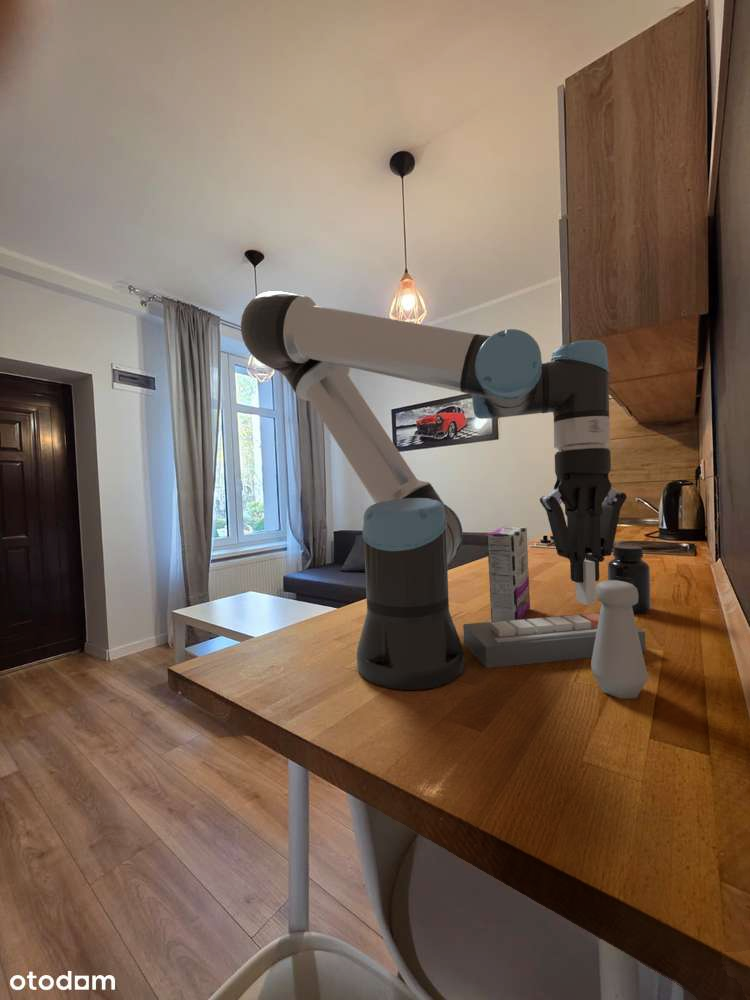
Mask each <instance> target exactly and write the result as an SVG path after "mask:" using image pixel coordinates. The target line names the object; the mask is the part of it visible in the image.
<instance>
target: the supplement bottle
mask: <svg viewBox="0 0 750 1000" xmlns="http://www.w3.org/2000/svg"><path fill="white" fill-rule="evenodd" d="M643 550H644V549H643V547H641V546H638V545H626V544H625V545H624V544H623V545H615V546H614V545H613V550H612V556H613V557H614V558H613V559H611V560H610V561H609V562H608V563H607V581H608V580H616V581H623V582H627V583H630V584H633V585H634V586H635V587H636V588H637V591H638V602H637V604H635V605H633V606H632V609H633V613H634V615H635V614H638V615H639V614H647V613H649V612H650V611H651V604H652V603H651V602H652V601H651V571H650V570H651V569H650V568H651V567H650V566H649V564H648V563H647V562H646V561H644V560H642V559H643V558H644V552H643Z"/></svg>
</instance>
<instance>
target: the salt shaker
mask: <svg viewBox="0 0 750 1000" xmlns="http://www.w3.org/2000/svg"><path fill="white" fill-rule="evenodd" d="M596 600H597V601H598V602H600V603H601V606H600V609H599V610H600V611H599V612H600V615H599V621H598V626H597V632H596V638H595V644H594V649H593V655H592V658H591V662H590V665H591V667H590V668H591V672H592V675H593V676H594V678H595V679H596V681H597V683H598V685H599V687H600V689H601V690H602V692H603V693H604V694H607V695H610V696H612V697H615V698H618V699H621V700H624V699H637V698H638V697H639V695H640V693H641V691H642V690H643V688H644V687H645V685H646V683H647V682H648V678H649V675H648V671H647V667H646V663H645V662H646V661H645V659H644V654H643V653H644V652H642V649H641V645H640V640H639V636H638V631H637V628H638V626H637V622H636V617H635V614H634V613H633V609H632V606H633V605H635V604H637V602H638V591H637V588H636V587H635V586H634V585H633V584H630V583H627V582H623V581H616V580H608V579H607V580H602V581H600V582H598V583H597V584H596Z"/></svg>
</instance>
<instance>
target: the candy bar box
mask: <svg viewBox="0 0 750 1000" xmlns="http://www.w3.org/2000/svg"><path fill="white" fill-rule="evenodd" d="M527 529H528V528H527V527H525V526H503V527H500V528H499V529H498V528H497V529H496V530H494V531H491V532H490V533H488V534H486V536H487V537H486V538H487V539H486V541H487V557H488V558H487V559H488V573H489V575H488V577H489V579H488V580H489V594H490V597H489V598H490V599H489V600H490V617H491V618H490V620H491V621H490V622H495V621H506V620H518V619H524V617H525V615H526V614H527V613H528V611H529V610H530V609H531V601H530V600H531V599H530V579H529V555H528V535H527Z"/></svg>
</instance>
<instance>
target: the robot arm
mask: <svg viewBox="0 0 750 1000" xmlns="http://www.w3.org/2000/svg"><path fill="white" fill-rule="evenodd" d="M240 333H241V338H242V340H243V343H244V345H245V347H246V348H247V351H248V352H249V353H250V354H251V355H252V357H254V359H256V361H258V362H260V363H261V364H263V365H264V366H267V367H268V368H271V369H273V370H275V371H277V372H279V373H281V374H282V375H283V376H284V377H285V378H286V380H287V382H288V384H289V385H290V387H291V388H292V390H293V392H295V394H296V396H297V397H298V399H300V400H302V401H307V402H310V403H311V405H312V406H313V408H314V409H315V411H316V412H317V414H318V415H319V417H320V418H321V420H322V422H323V424H325V426H326V428H327V429H328V431H329V433H330V435H331V436H332V438H333V440H335V442H336V444H337V446H338V447H339V448H340V450H341V451H342V453H343V455H344V457H345V458H346V459H347V461H348V462H349V464H350V466H351V468H353V471H354V473H356V475H357V477H358V478H359V480H360V482H361V483H362V485H364V488H365V489H366V490H367V492H368V494H369V495H370V498H371V499H372V500H373V502H374V504H372V505H370V506H368V507H367V509H365V511H364V513H363V526H362V531H361V532H362V533H361V534H362V538H363V539H362V540H363V554H364V557H363V558H364V574H365V594H366V615H365V620H364V623H363V626H362V629H361V635H360V637H359V641H358V645H357V650H356V664H357V665H356V667H357V668H356V669H357V671H358V673H359V674H360V676H362V677H363V678H364V679H365V680H367V681H368V682H369V683H370V682H371V683H372V684H375V685H377V686H380V687H383V688H388V689H392V690H402V691H415V690H416V691H417V690H418V691H420V690H428V689H433V688H437V687H441V686H444V685H446V684H449V683H451V682H452V681H455V679H457V678H458V677H460V675H462V672H463V670H464V668H465V664H464V663H465V660H464V650H463V649H464V648H463V646H462V643H461V640H460V637H459V635H458V631H457V628H456V626H455V623H454V621H453V617H452V615H451V611H450V603H449V576H448V565H449V564H450V563H451V562H452V561H453V560H454V559H455V558H456V556H457V555H458V554H459V552H460V549H461V547H462V543H463V536H464V535H463V528H462V523H461V521H460V518H459V517H458V515H457V513H456V512H455V511H454V510H453V509H452V508H451V507H449V506H448V505H446V504H445V503H444V502H443V500H442V499H441V497H440V496H439V494H438V492H437V491H436V490H435V487H433V486H432V484H431V483H430V482H429V481H424V480H420V479H418V478H417V477H416V475H415V474H414V473H413V471H412V469H411V468H410V466H409V465H408V463H407V462H406V460H405V458H404V457H403V456H402V455H401V453H400V451H399V450H398V448H397V447H396V446H395V444H394V442H393V441H392V439H391V438H390V437H389V435H388V433H387V432H386V430H385V429H384V427H383V426H382V425H381V423H380V421H379V419H378V418H377V417H376V415H375V413H374V412H373V411H372V410H371V408H370V405H368V403H367V402H366V400H365V399H364V397H363V396H362V394H361V393H360V391H359V389H358V388H357V386H356V385H355V383H354V382H353V381H352V379H351V378H350V375H349V374H350V370H351V369H356V370H361V371H365V372H370V373H374V374H379V375H384V376H386V377H387V376H388V377H391V378H396V379H400V380H401V379H402V380H406V381H409V382H415V383H420V384H424V385H429V386H434V387H437V388H442V389H448V390H453V391H456V392H459V393H460V392H461V393H464V394H469V395H471V397H472V398H471V399H472V408H473V413H474V416H475V418H478V419H483V420H485V419H494V420H497V419H499V418H501V419H502V418H509V417H519V416H527V415H528V416H529V415H535V414H536V415H537V414H548V413H553V414H552V415H553V448H555V449H557V450H558V451H557V452H555V454H554V474H555V476H556V480H555V481H556V482H555V484H554V486H553V491H551V492H549V494H547V495H542V496H540V498H539V502H540V504H541V505H542V508H544V510H545V511H546V516H547V519H548V522H549V527H550V530H551V535H552V538H553V542H554V546H555V549H556V553H557V555H558V556H559V557H563V558H564V559H568V560H569V564H570V565H569V567H570V568H569V569H570V579H571V582H574V588H575V589H574V590H575V591H574V594H575V601H576V602H578V603H580V604H582V605H585V606H596V605H597V596H596V587H597V585H596V582H599V580H600V563H603V562H604V561H605V557H609V556H611V555H613V547H614V544H615V539H616V534H617V529H618V524H619V519H620V514H621V509H622V507H623V505H624V503H625V501H626V500H627V498H628V497H627V494H626V493H625V492H618V491H617V490H615V489H613V488H612V482H611V481H610V479H609V474H610V472H611V470H612V465H611V464H612V463H611V462H612V459H611V457H612V456H611V455H612V454H611V450H610V448H606V446H608V445H609V444H610V443H611V431H610V430H611V426H610V425H611V423H610V422H611V421H610V419H611V418H610V373H611V371H610V368H609V359H608V358H609V356H608V350H607V349H608V348H607V346H606V345H605V344H604V343H603V342H602V341H599V340H596V339H589V340H588V339H584V340H577V341H573V342H571V343H565V344H563V345H560V346H558V347H556V349H554V350H553V352H551V353H552V354H551V358H550V361H548V362H547V361H546V362H544V363H543V360H542V351H541V348H540V345H539V344H538V342H537V341H536V339H535V338H534V337H533V336H532V335H530V334H529V333H527V331H523V330H520V329H515V328H510V329H505V330H500V331H498V332H496V333H493V334H492V335H485V334H479V333H470V332H464V331H460V330H456V329H455V330H454V329H449V328H443V327H439V326H438V327H437V326H432V325H426V324H421V323H415V322H410V321H404V320H398V319H393V318H386V317H382V316H376V315H369V314H366V313H365V314H364V313H360V312H359V313H358V312H354V311H347V310H343V309H336V308H331V307H326V306H321V305H317V304H316V302H315V301H314V300H313V299H312V298H311V297H309V296H307V295H301V294H296V293H290V292H283V291H267V292H263V293H261V294H258V295H257V296H255V297H253V298H252V299H251V300H250V301H249V303H247V305H246V306H245V308H244V310H243V313H242V315H241V321H240ZM561 504H563V505H564V510H563V508H562V506H561ZM565 516H566V517H565Z"/></svg>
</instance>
